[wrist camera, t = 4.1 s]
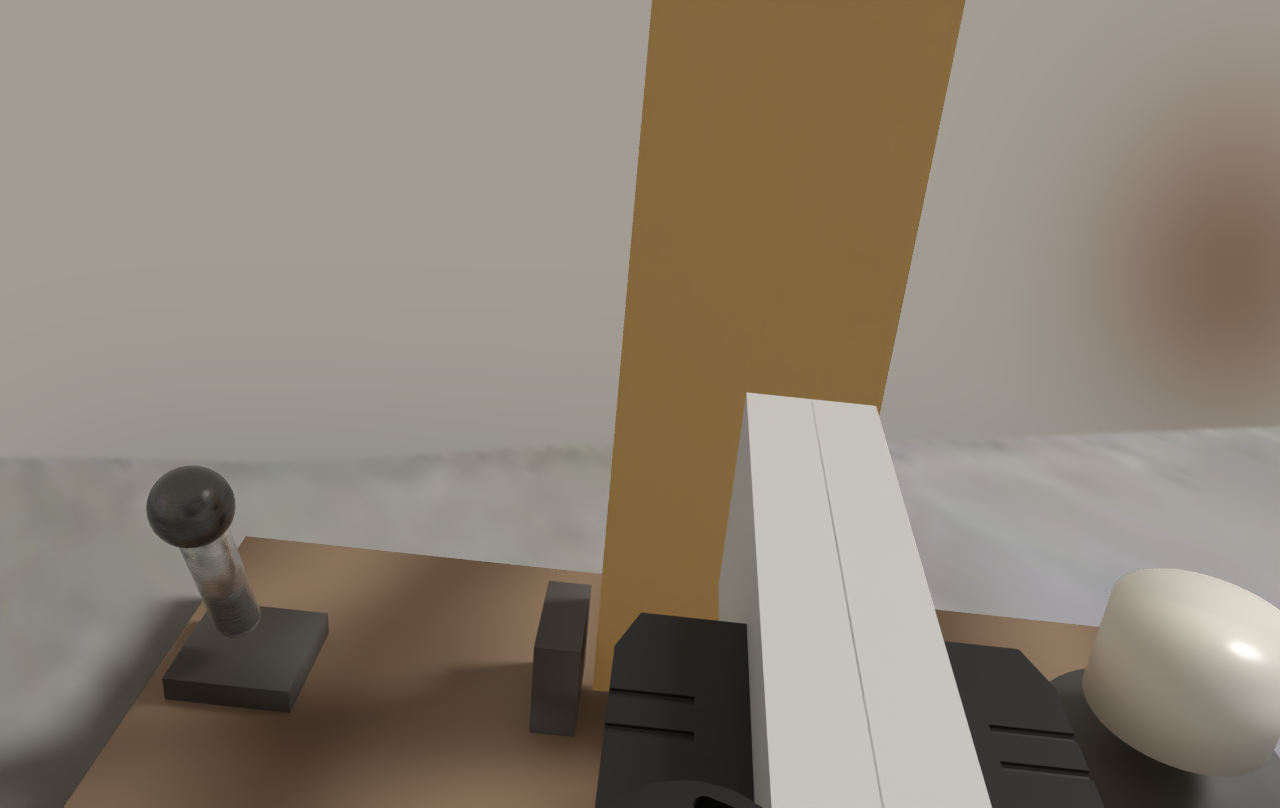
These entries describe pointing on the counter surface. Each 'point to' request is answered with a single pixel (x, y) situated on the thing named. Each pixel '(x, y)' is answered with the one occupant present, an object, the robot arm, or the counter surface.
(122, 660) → the counter surface
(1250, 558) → the counter surface
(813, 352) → the tan tall block
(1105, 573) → the counter surface
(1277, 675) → the push button
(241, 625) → the toggle lever
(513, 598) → the console
